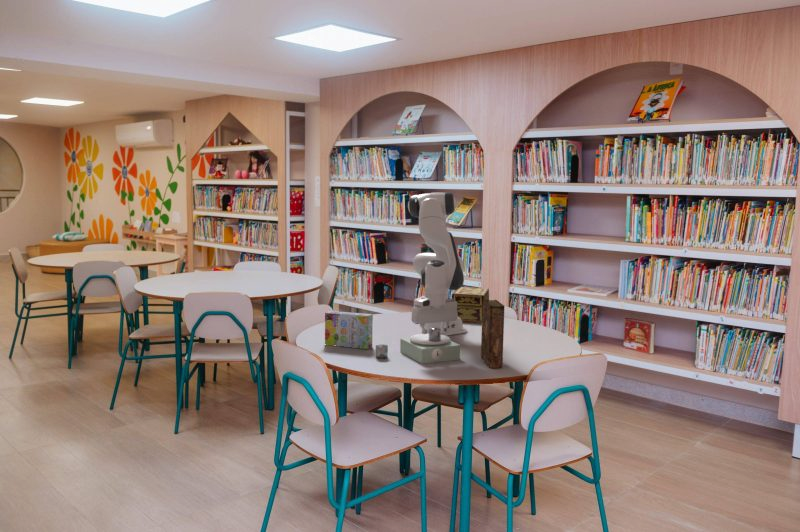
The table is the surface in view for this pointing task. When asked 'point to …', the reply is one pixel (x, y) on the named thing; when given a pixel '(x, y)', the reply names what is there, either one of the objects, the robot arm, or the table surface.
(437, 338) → the spacer
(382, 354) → the cylinder
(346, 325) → the snack box
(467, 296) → the decorative box
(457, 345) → the scale
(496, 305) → the book
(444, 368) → the table surface
